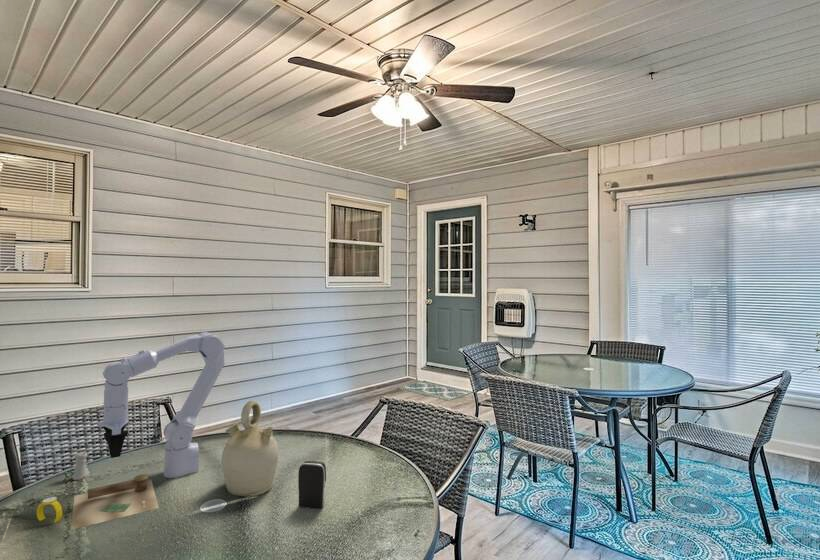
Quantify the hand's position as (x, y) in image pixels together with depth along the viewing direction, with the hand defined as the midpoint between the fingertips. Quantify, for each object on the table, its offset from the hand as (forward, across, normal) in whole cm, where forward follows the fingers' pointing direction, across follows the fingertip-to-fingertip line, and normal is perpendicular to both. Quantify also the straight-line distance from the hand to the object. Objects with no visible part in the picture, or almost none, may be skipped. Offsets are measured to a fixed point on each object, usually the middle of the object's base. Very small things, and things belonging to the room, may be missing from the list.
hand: (115, 453), depth 125 cm
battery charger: (+11, +39, +43) cm, 59 cm away
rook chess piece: (+11, -13, -8) cm, 19 cm away
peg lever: (+10, +6, +1) cm, 11 cm away
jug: (+11, +20, +32) cm, 39 cm away
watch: (+11, +12, -14) cm, 21 cm away
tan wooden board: (+10, +10, 0) cm, 14 cm away
